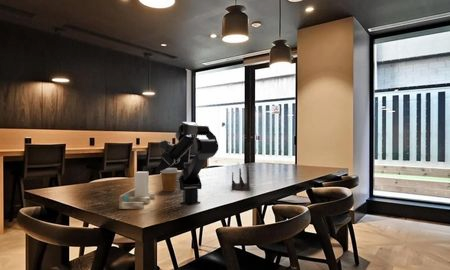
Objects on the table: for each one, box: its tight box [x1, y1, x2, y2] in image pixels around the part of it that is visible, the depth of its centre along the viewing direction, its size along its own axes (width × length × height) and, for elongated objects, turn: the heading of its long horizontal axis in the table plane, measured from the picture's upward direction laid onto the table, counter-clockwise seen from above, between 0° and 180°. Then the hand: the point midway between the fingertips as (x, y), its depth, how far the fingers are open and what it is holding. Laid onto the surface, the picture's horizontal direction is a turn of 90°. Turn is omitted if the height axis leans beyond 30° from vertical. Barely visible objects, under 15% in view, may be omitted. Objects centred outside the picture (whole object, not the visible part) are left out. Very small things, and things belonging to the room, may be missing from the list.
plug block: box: [134, 171, 150, 197], centre depth 134 cm, size 5×5×13 cm
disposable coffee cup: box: [159, 167, 179, 192], centre depth 161 cm, size 10×10×12 cm
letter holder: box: [231, 163, 251, 192], centre depth 172 cm, size 10×20×14 cm, turn 178°
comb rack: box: [118, 187, 156, 210], centre depth 129 cm, size 10×21×5 cm, turn 0°
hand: (158, 171), depth 134 cm, fingers open, 9 cm apart
